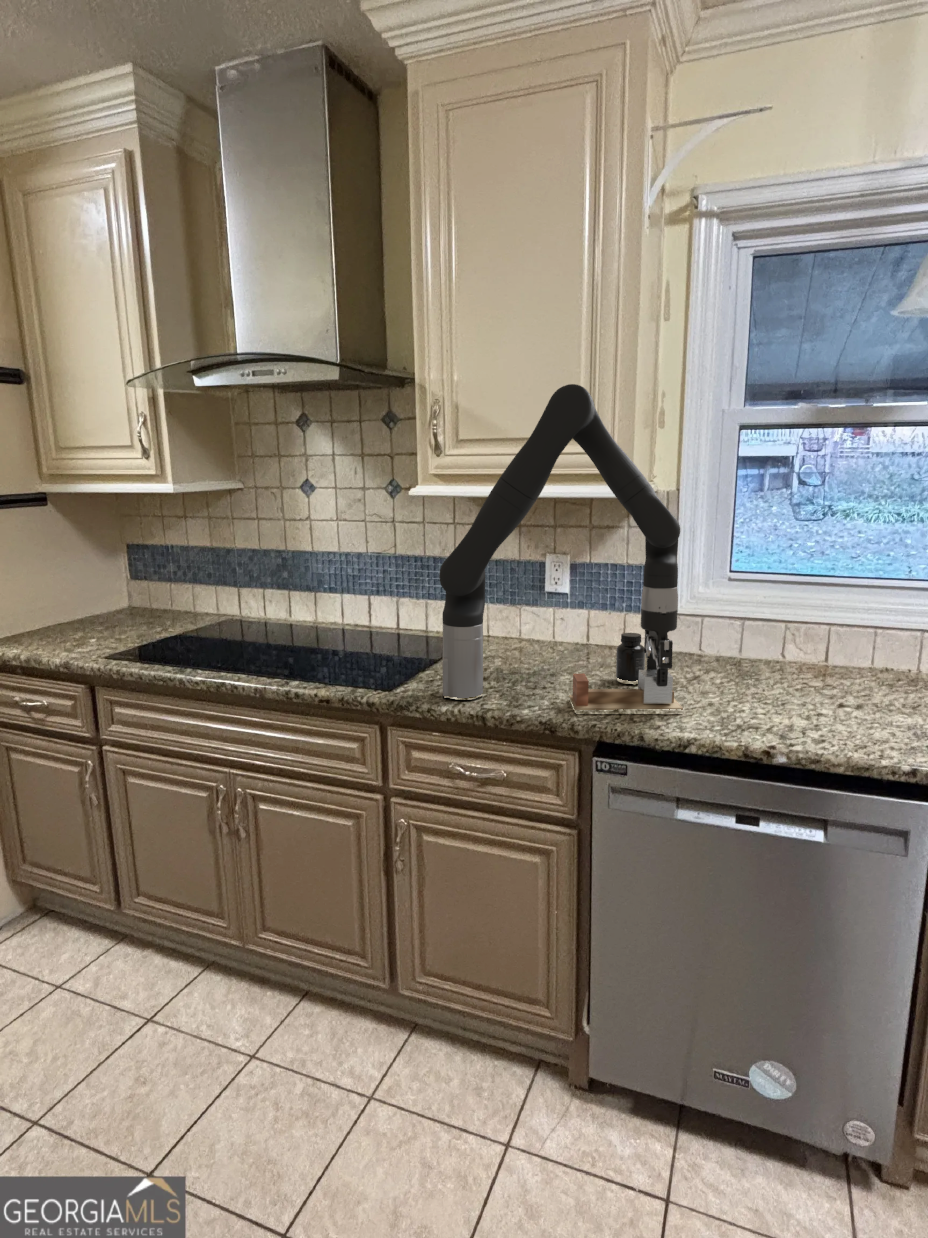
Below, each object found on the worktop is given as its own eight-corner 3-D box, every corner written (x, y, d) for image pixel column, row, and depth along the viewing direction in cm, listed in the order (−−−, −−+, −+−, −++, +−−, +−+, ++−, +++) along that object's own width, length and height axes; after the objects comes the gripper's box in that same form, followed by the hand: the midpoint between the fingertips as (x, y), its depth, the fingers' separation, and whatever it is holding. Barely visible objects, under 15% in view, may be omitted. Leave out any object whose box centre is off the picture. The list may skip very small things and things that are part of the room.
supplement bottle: (639, 677, 183) (641, 631, 180) (647, 685, 176) (649, 637, 173) (612, 678, 182) (614, 631, 180) (619, 686, 176) (621, 637, 173)
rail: (574, 714, 155) (575, 683, 154) (569, 701, 164) (569, 671, 163) (682, 714, 155) (684, 683, 154) (671, 701, 164) (672, 671, 162)
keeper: (643, 703, 156) (644, 676, 155) (637, 695, 162) (638, 669, 161) (671, 703, 156) (673, 676, 155) (664, 695, 162) (666, 669, 161)
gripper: (634, 601, 162) (632, 671, 165) (649, 613, 148) (647, 690, 151) (668, 601, 162) (665, 671, 165) (686, 613, 148) (683, 689, 151)
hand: (656, 680), depth 158 cm, fingers open, 8 cm apart
